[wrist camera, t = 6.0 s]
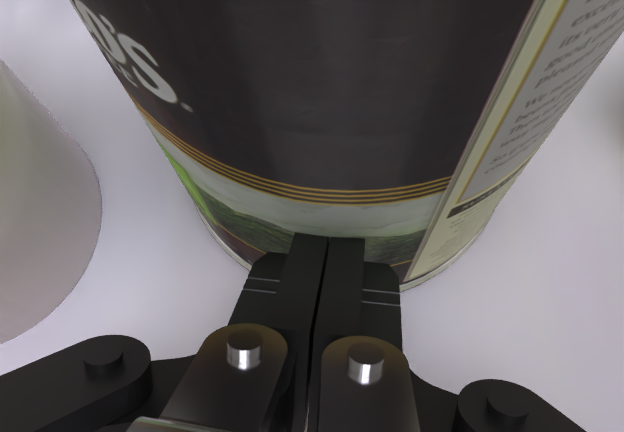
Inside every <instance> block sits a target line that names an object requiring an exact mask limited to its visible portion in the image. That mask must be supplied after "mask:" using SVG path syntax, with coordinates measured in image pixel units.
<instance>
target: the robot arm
mask: <svg viewBox="0 0 624 432" xmlns="http://www.w3.org/2000/svg"><path fill="white" fill-rule="evenodd" d="M328 249H329V253H328ZM364 253H365V239H364V238H343V237H331V242H330V247H329V241H328V236H318V235H310V234H302V233H296V232H295V234H294V237H293V240H292V243H291V246H290V250H289V253H288V254H286V253H277V252H267V253H266V254H265V255H263V256H262V257H261V258H259V259H258V260H256V261H255V262H254V263H253V266H252V268H251V270H250V273H249V275H248V279H247V280H246V282H245V285H244V287H243V290H242V292H241V294H240V297H239V299H238V301H237V304H236V306H235V309H234V311H233V313H232V316H231V318H230V320H229V323H228V325H227V326H225V327H222V328H220V329H218V330H216V331H214V332H213V333H211V334H210V335H209V336H208V337H207V338H206V339H205V341H204V342H203V344H202V346H201V347H200V349H199V351H198V352H197V354H195V355H192V356H188V357H182V358H175V359H166V360H156V361H151V357H150V351H149V350H148V348H147V346H146V345H145V344H144V343H142V342H141V341H139V340H137V339H135V338H132V337H129V336H123V335H104V336H98V337H94V338H90V339H87V340H85V341H82V342H79V343H77V344H75V345H72V346H70V347H68V348H65V349H63V350H61V351H58V352H56V353H53V354H51V355H49V356H46V357H44V358H42V359H39V360H37V361H35V362H32V363H30V364H27V365H25V366H23V367H20V368H18V369H16V370H13V371H11V372H8V373H6V374H4V375H1V376H0V432H304V431H305V425H306V419H307V413H308V407H309V414H308V429H307V432H586V431H585V430H584V429H582V428H581V427H580V426H578V425H577V424H576V423H574V422H573V421H572V420H570V419H569V418H567V417H566V416H565V415H563V414H562V413H561V412H559V411H558V410H557V409H555V408H554V407H553V406H551V405H550V404H549V403H547V402H546V401H545V400H543V399H542V398H541V397H539V396H538V395H537V394H535V393H534V392H532V391H531V390H529V389H527V388H525V387H523V386H520V385H518V384H515V383H512V382H508V381H504V380H496V379H484V380H478V381H475V382H472V383H470V384H468V385H466V386H465V387H464V388H463V389H462V391H461V392H460V394H459V395H457V394H454V393H451V392H448V391H446V390H443V389H440V388H438V387H435V386H433V385H431V384H429V383H427V382H425V381H424V380H422V379H421V378H419V377H418V376H417V375H416V374H414V373H413V372H412V371H411V369H410V368H409V364H408V361H407V359H406V357H405V355H404V354H403V351H402V330H401V308H400V295H399V294H400V287H399V277H398V275H397V274H396V273H395V272H394V270H393V269H392V268H391V266H390V265H389V264H387V263H377V262H367V261H364Z"/></svg>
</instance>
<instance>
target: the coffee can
mask: <svg viewBox="0 0 624 432" xmlns="http://www.w3.org/2000/svg"><path fill="white" fill-rule="evenodd" d="M70 2H71V4H72V5H73V7H74V9H75V10H76V12H77V13H78V15H79V17H80V18H81V20H82V22H83V23H84V24H85V26H86V28H87V29H88V31H89V33H90V34H91V36H92V37H93V39H94V41H95V42H96V44H97V45H98V47H99V48H100V50H101V52H102V53H103V55H104V57H105V58H106V60H107V61H108V63H109V64H110V66H111V68H112V69H113V71H114V73H115V74H116V76H117V77H118V79H119V80H120V82H121V83H122V85H123V87H124V88H125V90H126V91H127V93H128V94H129V96H130V97H131V99H132V101H133V102H134V104H135V106H136V107H137V109H138V111H139V112H140V114H141V116H142V117H143V119H144V120H145V122H146V124H147V125H148V127H149V129H150V130H151V132H152V133H153V135H154V137H155V138H156V140H157V141H158V143H159V145H160V146H161V148H162V150H163V151H164V153H165V154H166V156H167V158H168V159H169V161H170V162H171V164H172V166H173V167H174V169H175V171H176V172H177V174H178V176H179V178H180V179H181V181H182V183H183V184H184V186H185V187H186V189H187V191H188V193H189V194H190V196H191V197H192V199H193V200H194V203H195V206H196V208H197V210H198V213H199V215H200V216H201V218H202V220H203V222H204V223H205V225H206V226H207V228H208V230H209V231H210V233H211V234H212V236H213V237H214V238H215V239H216V240H217V242H218V243H219V244H220V245H221V246H222V247H223V248H224V249H225V251H226V252H227V253H228V254H230V255H231V256H232V257H233V258H234V259H235V260H236V261H237V262H238V263H240V264H241V265H242V266H244V267H245V268H246V269H248V270H249V271H250V270H251V268H252V266H253V263H254V262H255V261H256V260H258V259H259V258H261V257H262V256H263V255H265V254H266V253H267V252H277V253H286V254H288V253H289V250H290V246H291V243H292V240H293V237H294V234H295V232H296V233H302V234H310V235H318V236H328V241H329V247H330V242H331V237H343V238H364V239H365V253H364V261H367V262H377V263H387V264H389V265H390V266H391V268H392V269H393V270H394V272H395V273H396V274H397V275H398V277H399V287H400V292H401V291H404V290H407V289H410V288H412V287H415V286H417V285H419V284H421V283H423V282H425V281H427V280H428V279H430V278H432V277H434V276H435V275H437V274H438V273H440V272H441V271H443V270H445V269H446V268H447V267H448V266H450V265H451V264H452V263H454V262H455V261H456V260H457V259H458V258H459V257H460V256H461V255H462V254H463V253H464V252H465V251H466V250H467V249H468V248H469V247H470V246H471V245H472V244H473V243H474V241H475V240H476V239H477V237H478V236H479V235H480V233H481V232H482V230H483V229H484V227H485V226H486V224H487V223H488V221H489V219H490V217H491V215H492V213H493V212H494V210H495V208H496V206H497V205H498V203H499V202H500V201H501V199H502V198H503V197H504V195H505V194H506V192H507V191H508V190H509V188H510V187H511V185H512V184H513V183H514V181H515V180H516V179H517V177H518V176H519V174H520V173H521V172H522V170H523V169H524V168H525V166H526V165H527V163H528V162H529V161H530V159H531V158H532V157H533V155H534V154H535V152H536V151H537V150H538V149H539V147H540V146H541V145H542V144H543V142H544V141H545V139H546V138H547V137H548V135H549V134H550V133H551V131H552V130H553V128H554V127H555V125H556V123H557V122H558V121H559V119H560V118H561V117H562V115H563V114H564V112H565V111H566V110H567V108H568V107H569V106H570V104H571V103H572V101H573V100H574V99H575V97H576V96H577V95H578V93H579V92H580V90H581V89H582V88H583V86H584V85H585V84H586V82H587V81H588V79H589V78H590V77H591V75H592V74H593V72H594V71H595V70H596V68H597V67H598V66H599V64H600V63H601V61H602V60H603V59H604V57H605V56H606V54H607V53H608V52H609V50H610V49H611V47H612V46H613V45H614V43H615V42H616V41H617V39H618V38H619V36H620V35H621V34H622V32H623V31H624V0H70ZM328 253H329V249H328Z"/></svg>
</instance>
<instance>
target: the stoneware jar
mask: <svg viewBox="0 0 624 432" xmlns="http://www.w3.org/2000/svg"><path fill="white" fill-rule="evenodd" d="M101 217H102V198H101V191H100V186H99V181H98V179H97V176H96V173H95V170H94V168H93V166H92V164H91V162H90V160H89V159H88V157H87V155H86V154H85V153H84V151H83V150H82V149H81V148H80V146H79V145H78V144H77V143H76V142H75V141H74V139H73V138H72V137H71V136H70V135H69V134H68V133H67V132H66V131H65V129H64V128H63V127H62V126H61V125H60V124H59V123H58V122H57V121H56V119H55V118H54V117H53V116H52V115H51V114H50V113H49V112H48V111H47V109H46V108H45V107H44V106H43V105H42V104H41V103H40V102H39V101H38V99H37V98H36V97H35V96H34V95H33V94H32V93H31V92H30V90H29V89H28V88H27V87H26V86H25V85H24V84H23V83H22V82H21V80H20V79H19V78H18V77H17V76H16V75H15V74H14V73H13V72H12V70H11V69H10V68H9V67H8V66H7V65H6V64H5V63H4V62H3V60H2V59H1V58H0V344H1V343H4V342H6V341H8V340H10V339H13V338H15V337H17V336H19V335H20V334H22V333H24V332H25V331H27V330H29V329H30V328H32V327H33V326H35V325H36V324H37V323H39V322H40V321H41V320H43V319H44V318H45V317H47V316H48V315H49V314H50V313H51V312H52V311H53V310H54V309H55V308H56V307H58V306H59V305H60V304H61V303H62V302H63V300H64V299H65V298H66V297H67V296H68V294H69V293H70V292H71V291H72V290H73V288H74V287H75V285H76V284H77V282H78V281H79V279H80V278H81V276H82V275H83V273H84V271H85V269H86V267H87V266H88V264H89V262H90V260H91V257H92V255H93V252H94V249H95V247H96V244H97V240H98V236H99V232H100V227H101Z"/></svg>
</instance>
